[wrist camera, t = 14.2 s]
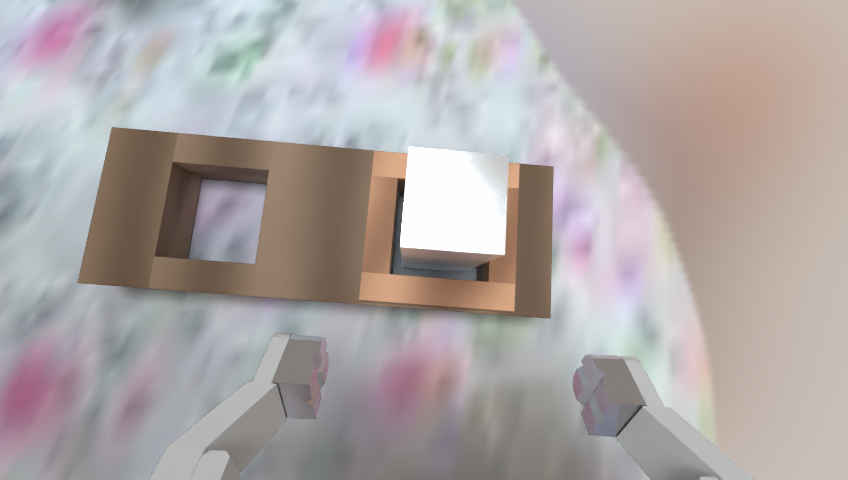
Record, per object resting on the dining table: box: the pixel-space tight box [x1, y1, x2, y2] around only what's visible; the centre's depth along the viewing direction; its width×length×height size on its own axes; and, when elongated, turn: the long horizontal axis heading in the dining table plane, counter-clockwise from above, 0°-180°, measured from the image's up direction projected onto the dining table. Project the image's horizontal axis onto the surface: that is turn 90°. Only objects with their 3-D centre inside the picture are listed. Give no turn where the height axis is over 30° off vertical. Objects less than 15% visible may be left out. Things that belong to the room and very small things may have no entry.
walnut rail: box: [78, 127, 553, 318], centre depth 22 cm, size 26×9×4 cm, turn 86°
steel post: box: [400, 146, 509, 272], centre depth 19 cm, size 4×4×10 cm
